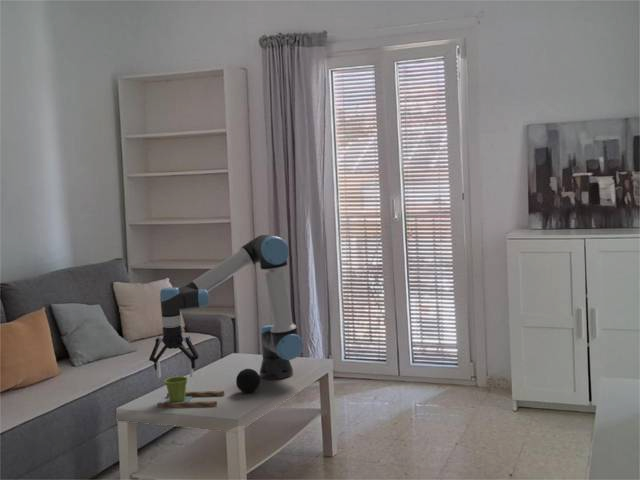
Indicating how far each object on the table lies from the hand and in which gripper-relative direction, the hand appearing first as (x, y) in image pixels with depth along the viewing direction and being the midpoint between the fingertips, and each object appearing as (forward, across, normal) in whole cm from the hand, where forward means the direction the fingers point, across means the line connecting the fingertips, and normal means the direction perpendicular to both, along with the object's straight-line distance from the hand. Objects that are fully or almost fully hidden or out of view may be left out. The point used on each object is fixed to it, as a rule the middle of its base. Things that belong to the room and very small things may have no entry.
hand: (175, 376), depth 301 cm
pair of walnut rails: (+10, -6, 0) cm, 12 cm away
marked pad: (+10, 0, 0) cm, 10 cm away
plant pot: (+10, 0, 0) cm, 10 cm away
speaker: (+10, -28, -10) cm, 31 cm away
